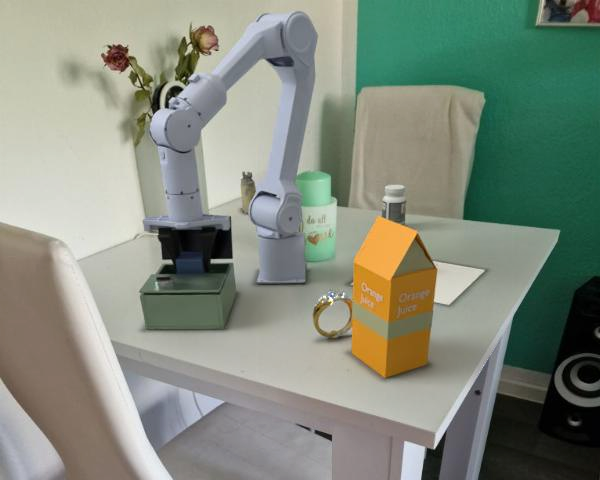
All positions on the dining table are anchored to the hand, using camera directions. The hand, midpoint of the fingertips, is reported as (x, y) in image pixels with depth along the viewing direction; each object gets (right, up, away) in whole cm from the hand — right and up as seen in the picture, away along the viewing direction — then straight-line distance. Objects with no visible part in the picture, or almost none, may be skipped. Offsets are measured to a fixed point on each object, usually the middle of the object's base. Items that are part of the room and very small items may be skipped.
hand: (193, 270), depth 99 cm
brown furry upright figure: (+5, +30, +56) cm, 64 cm away
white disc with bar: (0, -4, -7) cm, 9 cm away
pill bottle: (+42, +19, +39) cm, 60 cm away
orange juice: (+32, -17, -16) cm, 40 cm away
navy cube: (0, -1, +1) cm, 1 cm away
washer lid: (0, +6, +2) cm, 7 cm away
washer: (0, -7, +1) cm, 7 cm away
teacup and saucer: (+43, +1, +11) cm, 44 cm away
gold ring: (+25, -13, -10) cm, 30 cm away
